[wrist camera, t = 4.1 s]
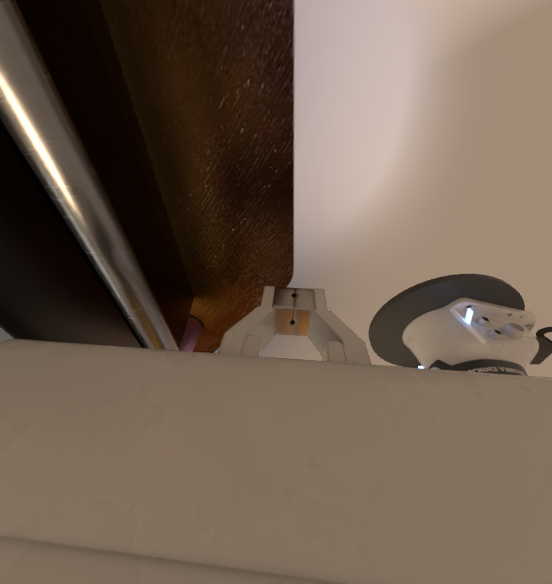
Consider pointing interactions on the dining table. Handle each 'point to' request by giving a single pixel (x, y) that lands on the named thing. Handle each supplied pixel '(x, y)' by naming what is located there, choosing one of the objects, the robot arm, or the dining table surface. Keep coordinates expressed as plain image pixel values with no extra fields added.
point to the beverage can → (191, 334)
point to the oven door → (79, 190)
